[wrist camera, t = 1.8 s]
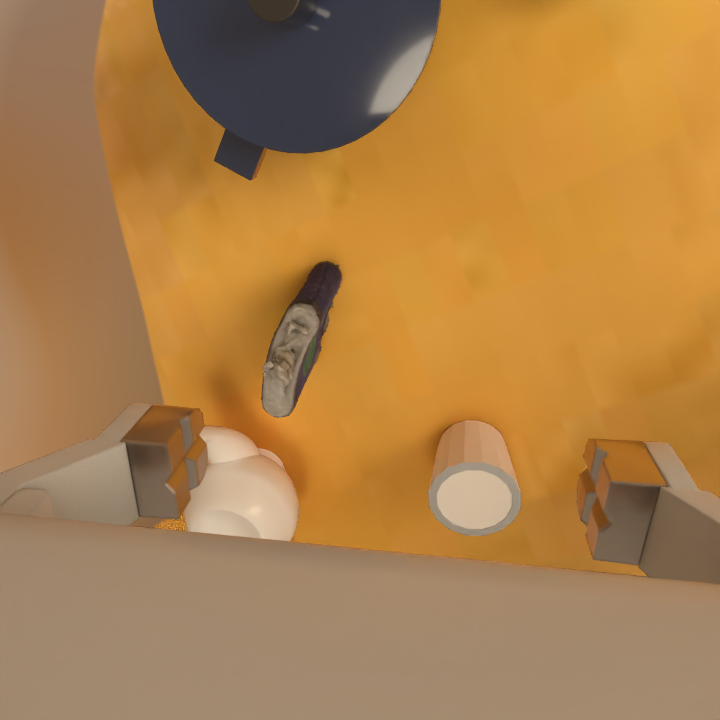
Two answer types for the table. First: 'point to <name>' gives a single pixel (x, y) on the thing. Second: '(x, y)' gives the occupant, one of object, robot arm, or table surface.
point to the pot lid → (298, 64)
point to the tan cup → (473, 480)
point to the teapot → (242, 490)
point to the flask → (299, 340)
